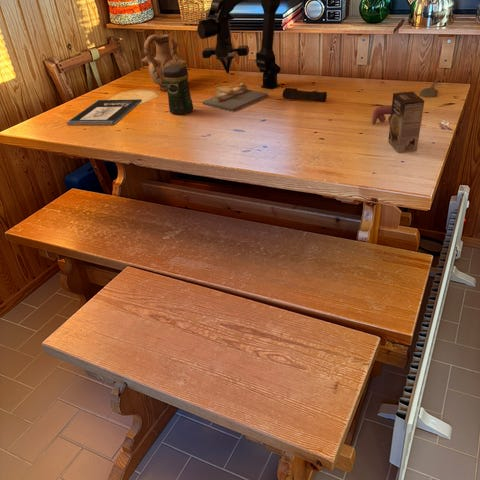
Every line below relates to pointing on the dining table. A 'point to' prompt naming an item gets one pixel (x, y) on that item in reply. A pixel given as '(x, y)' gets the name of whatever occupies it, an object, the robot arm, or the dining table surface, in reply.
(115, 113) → the sketchbook
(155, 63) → the ceramic vessel
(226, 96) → the birch latch bar
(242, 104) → the keeper baseplate
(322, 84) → the dining table surface
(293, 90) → the hand tool
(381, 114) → the toy animal
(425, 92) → the soupspoon
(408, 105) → the coffee box
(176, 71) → the coffee jar
